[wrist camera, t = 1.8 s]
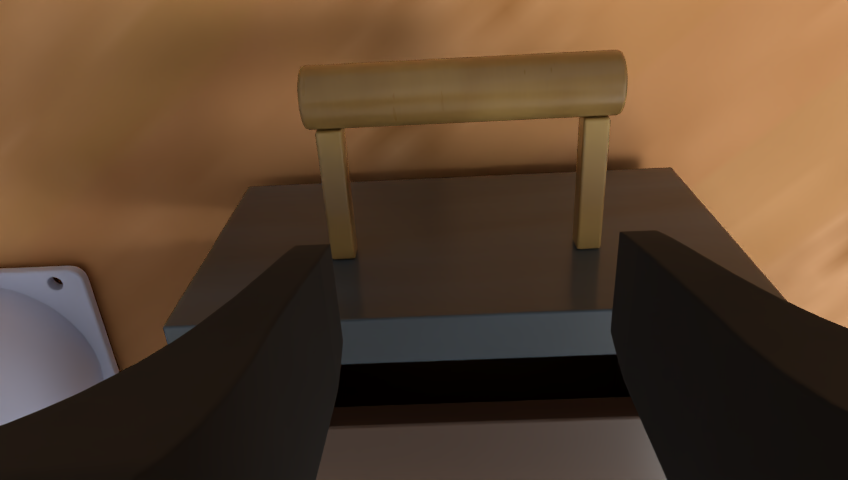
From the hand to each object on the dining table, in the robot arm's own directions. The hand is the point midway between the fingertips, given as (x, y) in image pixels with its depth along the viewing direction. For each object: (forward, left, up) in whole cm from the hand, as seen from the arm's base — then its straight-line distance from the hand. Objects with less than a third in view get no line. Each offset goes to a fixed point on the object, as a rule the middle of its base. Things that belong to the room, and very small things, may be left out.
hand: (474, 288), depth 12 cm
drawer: (0, -6, -10) cm, 11 cm away
